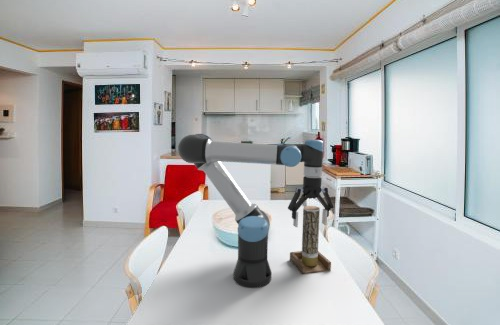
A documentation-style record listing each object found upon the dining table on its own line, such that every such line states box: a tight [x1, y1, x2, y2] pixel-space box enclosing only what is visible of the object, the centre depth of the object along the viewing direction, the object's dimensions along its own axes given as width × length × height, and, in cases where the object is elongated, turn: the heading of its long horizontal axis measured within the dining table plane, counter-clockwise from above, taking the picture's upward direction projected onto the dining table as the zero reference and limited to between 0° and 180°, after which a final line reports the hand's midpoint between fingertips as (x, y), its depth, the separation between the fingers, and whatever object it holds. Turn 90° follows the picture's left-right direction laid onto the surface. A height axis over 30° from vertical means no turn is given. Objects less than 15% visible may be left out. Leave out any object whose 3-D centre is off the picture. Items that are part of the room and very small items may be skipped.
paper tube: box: [301, 205, 320, 267], centre depth 122 cm, size 7×7×25 cm
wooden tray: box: [289, 250, 332, 275], centre depth 124 cm, size 13×13×4 cm
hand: (310, 225), depth 122 cm, fingers open, 13 cm apart
